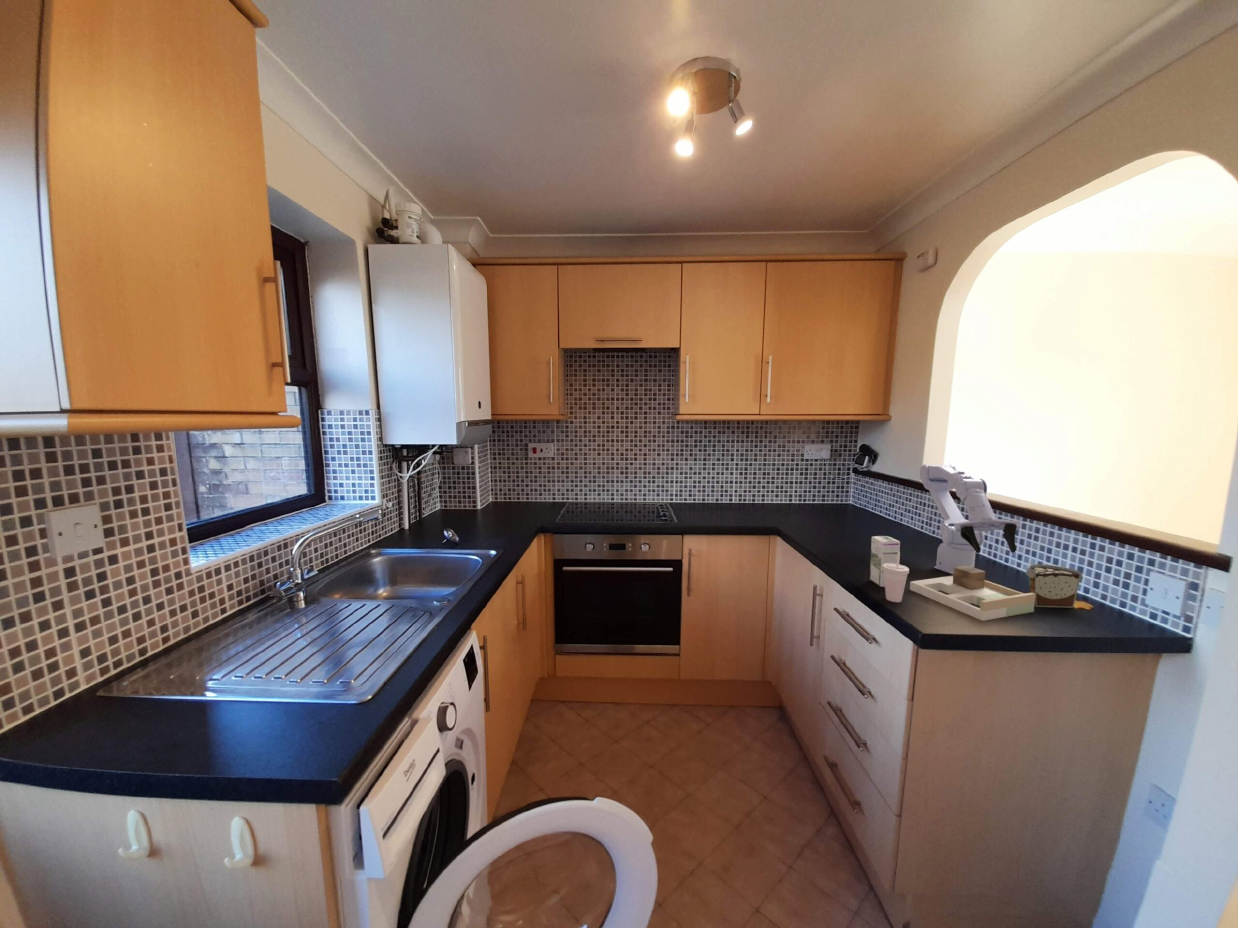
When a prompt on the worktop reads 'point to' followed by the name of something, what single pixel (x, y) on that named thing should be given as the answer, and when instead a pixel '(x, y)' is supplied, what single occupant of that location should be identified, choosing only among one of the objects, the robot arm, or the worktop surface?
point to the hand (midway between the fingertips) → (995, 551)
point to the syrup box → (882, 556)
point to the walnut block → (969, 577)
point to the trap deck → (976, 598)
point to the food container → (1053, 585)
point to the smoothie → (895, 580)
